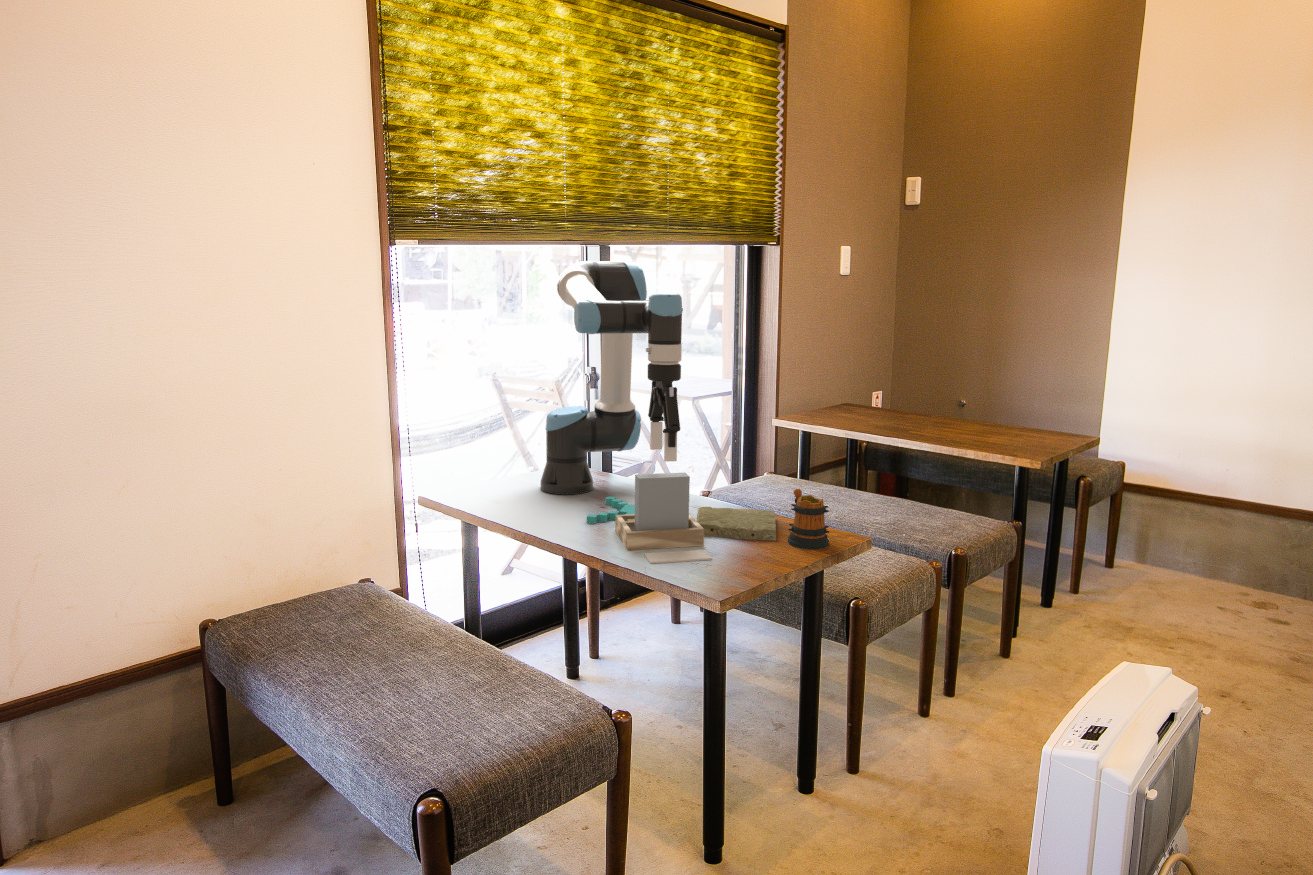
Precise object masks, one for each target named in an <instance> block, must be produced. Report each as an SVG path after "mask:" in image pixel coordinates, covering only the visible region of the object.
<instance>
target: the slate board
mask: <svg viewBox="0 0 1313 875" xmlns="http://www.w3.org/2000/svg"><path fill="white" fill-rule="evenodd" d="M634 477H635V478H634V504H635V531H649V530H667V529H685V528H688V527H689V514H690V484H691V483H690V482H691V481H690V480H691V479H690V478H691V477H690V475H689V474H688V473H686V472H669V473H667V472H666V473H663V472H662V473H642V474H641V473H640V474H634Z"/></svg>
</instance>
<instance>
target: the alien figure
mask: <svg viewBox="0 0 1313 875" xmlns="http://www.w3.org/2000/svg"><path fill="white" fill-rule="evenodd" d="M605 506H611V507H610V508H613V509H617V510H610V511H609V512H598V514H595V513H594V514H593V513H589V514H588V515H587V516H586V523H587V524H595V525H596V524H597V523H598V522H600V523H601V522H603V523H607V522H608V521H615V515H626V514H635V503H634V504H629V502H628V501H627V502H626V501H622V499H617V497H616V496H607V497H605Z"/></svg>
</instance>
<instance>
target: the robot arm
mask: <svg viewBox="0 0 1313 875" xmlns="http://www.w3.org/2000/svg"><path fill="white" fill-rule="evenodd" d="M557 279H558V280H557V284H556V288H557V293H558V295H559V297H560V299H561V300H562V301H563V302H564V304H566V305H569V306H570V307H572V308H573V321H574V322H573V323H574V327H575V330H576V332H577V333H580V334H588V335H597V334H598V335H600V334H601V357H600V358H601V359H600V365H601V366H600V367H601V368H600V389H599V391H600V392H599V393H600V394H599V399H598V401H596V402H595V404H594V410H592V411H589V410H588V408H587V406H583V405H578V406H576V405H574V406H573V405H571V406H566V407H565V406H564V407H560V408H556V409H554V410H551V411H550V412H548V413H547V416H546V422H545V433H546V434H545V435H546V443H545V444H546V446H545V447H546V450H545V451H546V453H545V454H546V463H545V467H544V469H543V472H542V476H541V479H540V490H541V491H542V492H545V493H547V494H548V493H549V494H553V495H578V494H585V493H588V492H591V491H593V489H594V480H593V476H592V472H591V470H590V466H589V463H588V453H597V452H602V453H603V452H622V451H631V450H633V449H634V448H636V446H637V444H638V442H639V439H640V436H641V435H640V434H641V428H642V423H641V420H642V418H641V414H640V412H639V410H636V405H635V403H633V402H632V400H631V390H632V389H631V386H632V385H631V384H632V363H633V362H632V361H633V360H632V358H633V338H634V337H633V334H647V336H648V337H647V339H648V340H647V341H648V342H647V343H648V344H647V346H648V347H646V348H645V352H646V353H647V360H648V361H649V363H648V364H647V379H648V380H649V381H651V394H650V399H649V400H650V401H649V406H648V414H647V416H648V418H649V420H650V439H649V440H650V445H649V446H650V447H649V448H650V450H651V451H652V450H653V451H654V450H663V451H664V452H663V461H664V462H665V463H666V462H677V460H678V458H677V456H678V432H680V431H681V422H680V414H679V403H678V388H677V387H673V382H678V381H680V380H681V378H682V365H681V364H680V362H681V361H682V344H683V343H682V331H683V330H682V328H683V323H682V322H683V311H684V309H683V298H682V296H681V294H680V293H679V294H678V293H668V292H667V293H663V292H662V293H659V292H657V293H656V292H654V293H651V294H650V295H649V296H648V299H647V294H648V291H647V283H646V278H645V272H644V270H643V268H642V266H641V265H640V264H639V263H637V262H633V261H625V260H622V261H621V260H619V261H616V260H612V261H611V260H610V261H607V260H606V261H605V260H604V261H598V260H597V261H594V260H593V261H592V260H585V261H579V262H576V263H573V264H571V265H570V266H568V267H567V268H565V269H564V271H562V273H561V274H560V275H559V277H558V278H557ZM663 422H664V427H665V428H663ZM663 434H664V436H663ZM663 438H664V439H663ZM663 440H664V441H663ZM663 442H664V444H663ZM663 446H664V448H663Z"/></svg>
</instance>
